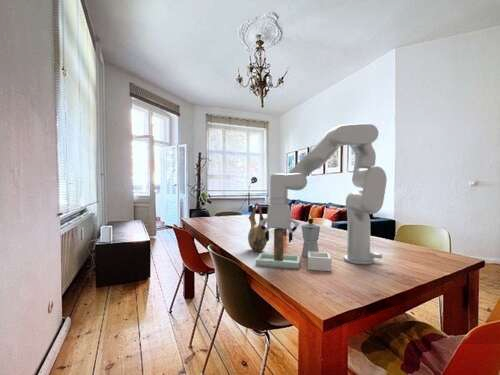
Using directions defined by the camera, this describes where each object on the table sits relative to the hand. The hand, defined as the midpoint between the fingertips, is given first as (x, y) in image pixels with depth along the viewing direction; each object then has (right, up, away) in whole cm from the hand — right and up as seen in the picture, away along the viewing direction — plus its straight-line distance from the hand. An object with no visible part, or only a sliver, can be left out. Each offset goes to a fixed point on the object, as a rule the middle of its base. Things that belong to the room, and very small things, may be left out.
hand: (278, 241), depth 108 cm
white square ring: (+16, -10, -4) cm, 19 cm away
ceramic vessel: (-9, -10, +21) cm, 25 cm away
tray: (0, -10, 0) cm, 10 cm away
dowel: (0, -9, 0) cm, 9 cm away
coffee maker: (+17, -10, +13) cm, 24 cm away
